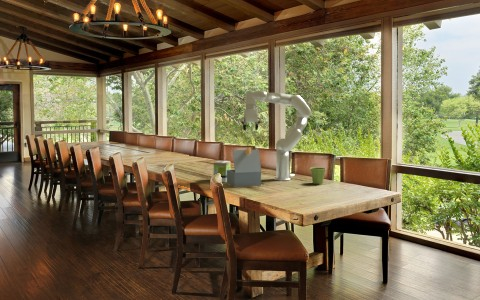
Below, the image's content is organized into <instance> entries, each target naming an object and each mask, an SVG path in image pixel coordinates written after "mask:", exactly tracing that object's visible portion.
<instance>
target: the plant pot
mask: <svg viewBox="0 0 480 300" xmlns="http://www.w3.org/2000/svg"><path fill="white" fill-rule="evenodd" d="M309 170H310V172H311V178H312V179H311V180H312V184H314V185H323V183H324V179H325V174H326V170H327V168H326V167H316V166H315V167H314V166H313V167H310V168H309Z"/></svg>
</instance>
